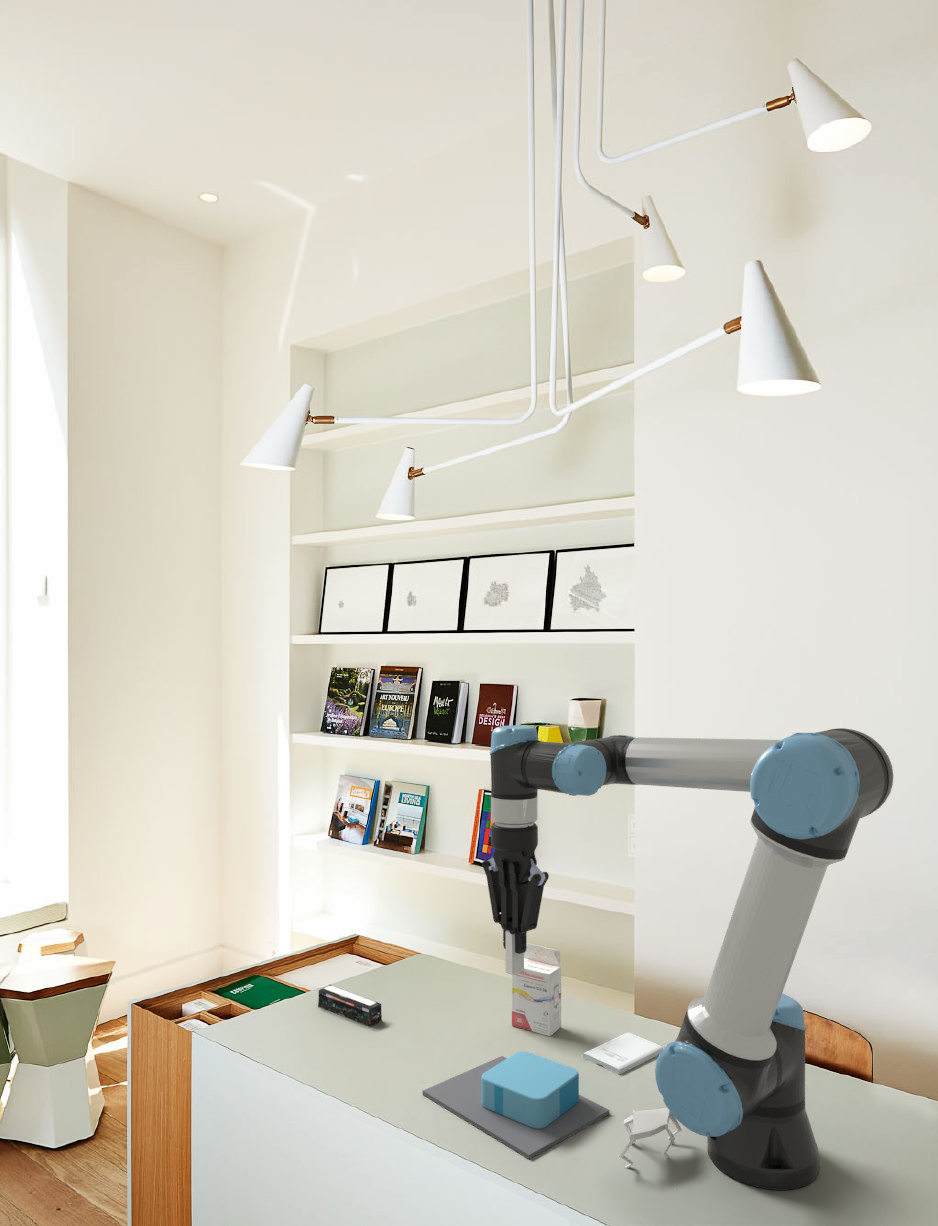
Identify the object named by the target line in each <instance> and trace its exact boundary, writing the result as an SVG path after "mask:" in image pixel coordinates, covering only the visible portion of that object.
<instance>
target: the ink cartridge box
mask: <svg viewBox="0 0 938 1226" xmlns="http://www.w3.org/2000/svg"><path fill="white" fill-rule="evenodd" d="M537 952H543V953H544V954H547V955H542V954H537ZM511 1026H512V1027H516V1028H520V1029H523V1030H526V1031H529V1032H533V1033H536V1034H539V1035H543V1036H548V1037H551V1036H552V1035H553V1034H555V1033H556V1032H557V1031H558V1030H560V1028H561V1026H562V966H561V952H560V950H558V949H555V948H551V947H548V946H546V947H545V946H542V945H537V944H533V943H528V942H526V952H524V971H522V972H519V973H516V974H514V975H511Z"/></svg>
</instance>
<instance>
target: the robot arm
mask: <svg viewBox="0 0 938 1226" xmlns="http://www.w3.org/2000/svg"><path fill="white" fill-rule="evenodd" d="M490 739H491V740H490V751H489V756H490V773H491V774H490V775H491V777H490V778H491V779H490V781H491V784H490V785H491V786H490V787H491V791H490V820H491V821H492V822H493V823H492V824H491V825H490V843H491V844H490V845H491V847H492V848H493V849H494V851H493V854H492V857H491V858H490V859H488V860H483V861H482V862H481V865H482V868H483V871H484V874H485V876H486V880H487V881H486V882H487V887H488V894H489V901H490V906H491V913H492V918H493V922H494V923H495V924H499V925H500V927H501V929H502V932H503V933H502V935H503V936H502V937H503V938H502V939H503V940H502V941H503V944H502V945H503V948H504V949H505V973H506V974H509V975H511V976H512V975H514V974H516V973H519V972H522V971H524V952H526V943H527V933H528V932H529V931H533V930H536V929H537V928H538V927H537V926H538V921H539V916H540V911H541V910H540V909H541V905H542V899H543V893H544V887H545V885H546V883H547V882H548V880H549V878H550V877H549V876H550V875H549V872H547V871H542V870H540V867H538V866H537V864H538V863H537V862H538V860H537V857H536V855H535V851H536V849H537V847H538V845H539V829H538V828H539V826H538V825H537V824H536V822H537V821H538V791H539V790H542V791H547V792H554V793H561V794H566V795H568V796H573V797H574V796H587V797H589V796H593V795H595V794H596V793H598V791H599V789H602V787H603V786H608V785H629V786H630V785H631V786H633V785H634V786H637V785H638V786H639V785H641V786H653V787H654V786H656V787H671V788H684V789H685V788H686V789H700V790H701V789H702V790H714V791H715V790H717V791H732V792H745V793H750V798H751V800H752V801H753V803H754V808H753V812H752V815H751V817H750V825H751V828H752V829H753V830H754V832H755V834H756V836H757V840H756V843H755V847H754V849H753V852H752V855H751V858H750V861H749V864H748V866H747V870H746V873H745V875H744V879H743V882H742V885H741V888H740V891H739V893H738V897H737V899H736V903H735V906H734V909H733V911H732V914H731V917H730V920H729V922H728V925H727V929H726V932H725V935H724V937H723V941H722V944H721V947H720V950H719V952H718V956H717V959H716V961H715V965H714V967H713V970H712V973H711V977H710V978H709V983H708V985H707V988H706V991H705V994H704V995H702V996H699V997H695V998H694V999H692V1000H691V1001H690V1003H689V1004H688V1006H687V1010H686V1012H685V1015H684V1018H683V1020H682V1024H681V1027H680V1029H679V1033H678V1035H677V1037H676V1039H675V1040H674V1041H671V1042H669V1043H667V1044H666V1046H664V1047H663V1050H662V1052H661V1053H660V1054H659V1055H657V1059H656V1062H655V1069H654V1071H655V1072H654V1074H655V1081H656V1086H657V1090H658V1091H659V1093H660V1094H661V1096H662V1098H663V1102H664V1104H665V1106H666V1108H668V1109H669V1111H670V1112H671V1113H672V1115H673V1116H674V1117H675V1118H676V1120H677V1122H678V1123H679V1124H682V1126H684V1127H685V1128H686V1129H688V1130H689V1131H691V1132H693V1133H695V1134H696V1135H699V1136H703V1137H707V1141H706V1142H707V1154H708V1156H709V1158H710V1160H711V1161H712V1162H713V1164H714V1165H715V1166H716V1167H717V1169H719V1170H721V1172H723V1173H724V1174H726V1175H727V1176H729V1177H731V1178H733V1179H734V1180H737V1181H739V1182H742V1183H744V1184H747V1185H749V1186H753V1187H757V1188H760V1189H761V1188H762V1189H768V1190H769V1189H770V1190H776V1191H777V1190H780V1191H781V1190H783V1191H784V1190H793V1189H798V1188H799V1189H800V1188H802V1187H804V1186H807V1185H809V1184H811V1183H812V1182H813V1181H815V1180H816V1178H817V1177H818V1176H819V1172H820V1151H819V1147H818V1144H817V1142H816V1139H815V1136H814V1132H813V1127H812V1126H811V1123H810V1120H809V1117H808V1113H807V1110H806V1109H807V1108H806V1031H807V1027H806V1025H805V1014H804V1009H803V1007H802V1005H801V1004H800V1003H799V1002H798V1001H797V1000H796V999H794V998H793V997H791V996H790V995H787V994H784V993H783V992H784V989H785V986H786V983H787V981H788V977H789V975H790V972H791V970H792V967H793V965H794V961H795V959H796V956H797V952H798V950H799V948H800V947H799V946H800V944H801V942H802V939H803V936H804V933H805V930H806V927H807V925H808V922H809V919H810V916H811V913H812V911H813V909H814V908H813V907H814V905H815V902H816V899H817V897H818V893H819V891H820V888H821V886H822V882H823V879H824V877H825V874H826V871H827V870H828V867H829V866H830V865H832V864H836V863H839V862H843V860H845V859H846V857H847V854H848V852H849V848H850V845H851V842H852V841H853V837H854V835H855V832H856V830H857V826H858V823H859V821H860V819H863V818H865V817H867V816H870V815H872V814H873V813H874V812H876V811H877V810H878V809H880V808H881V807H882V806H883V805H884V804H885V803H886V802H887V800H888V797H889V796H890V794H891V791H892V789H893V784H894V769H893V765H892V762H891V759H890V757H889V755H888V753H887V752H886V750H885V749H884V747H883V746H882V745H881V744H880V743H879V742H877V740H875V739H874V738H873V737H871V736H869V735H868V734H866V733H864V732H861V731H859V730H857V729H852V728H843V727H842V728H838V727H837V728H831V729H826V730H822V731H818V732H794V733H792V734H791V735H790V736H787V737H784V738H782V739H760V738H759V739H751V738H749V739H748V738H747V739H746V738H745V739H744V738H703V737H702V738H700V737H699V738H697V737H696V738H693V737H692V738H691V737H689V738H688V737H645V736H644V737H641V736H640V737H639V736H638V737H634V736H632V735H625V734H619V735H609V736H607V737H601V738H595V739H594V738H592V739H586V740H577V741H571V742H570V741H569V742H552V741H551V742H550V741H541V740H539V737H538V730H537V728H536V727H534V726H530V725H501V726H497V727H495V728H494V729H493V730H492V732H491V738H490ZM504 949H503V950H504Z"/></svg>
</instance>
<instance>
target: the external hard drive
mask: <svg viewBox="0 0 938 1226" xmlns="http://www.w3.org/2000/svg"><path fill="white" fill-rule="evenodd" d="M663 1049H664V1047H663V1046H661V1045H659V1044H658V1043H655V1042H652V1041H650V1040H648V1039H645V1038H643V1037H641V1036H638V1035H636V1034H634V1033H631V1032H626V1033H623V1034H621V1035H619V1036H617V1037H615V1038H613V1039H611V1040H608V1041H606V1042H604V1043H602V1044H600V1045H598V1046H596V1047H594V1048H591V1049H589V1050H588V1051H585V1052H583V1053H582V1058H583V1059H585V1060H586V1061H589V1062H591V1063H594V1064H596V1065H599V1066H601V1067H603V1069H604V1068H605V1069H607V1070H608V1071H611V1072H612V1073H614V1074H617V1075H622V1074H623V1073H626V1072H628V1071H629V1070H631V1069H633V1068H636V1067H637V1066H639V1065H641V1064H643V1063H645V1062H647V1061H650V1060H651V1059H653V1058H654V1057H658V1056H659V1054H660V1053H661V1052H662V1050H663Z"/></svg>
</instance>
